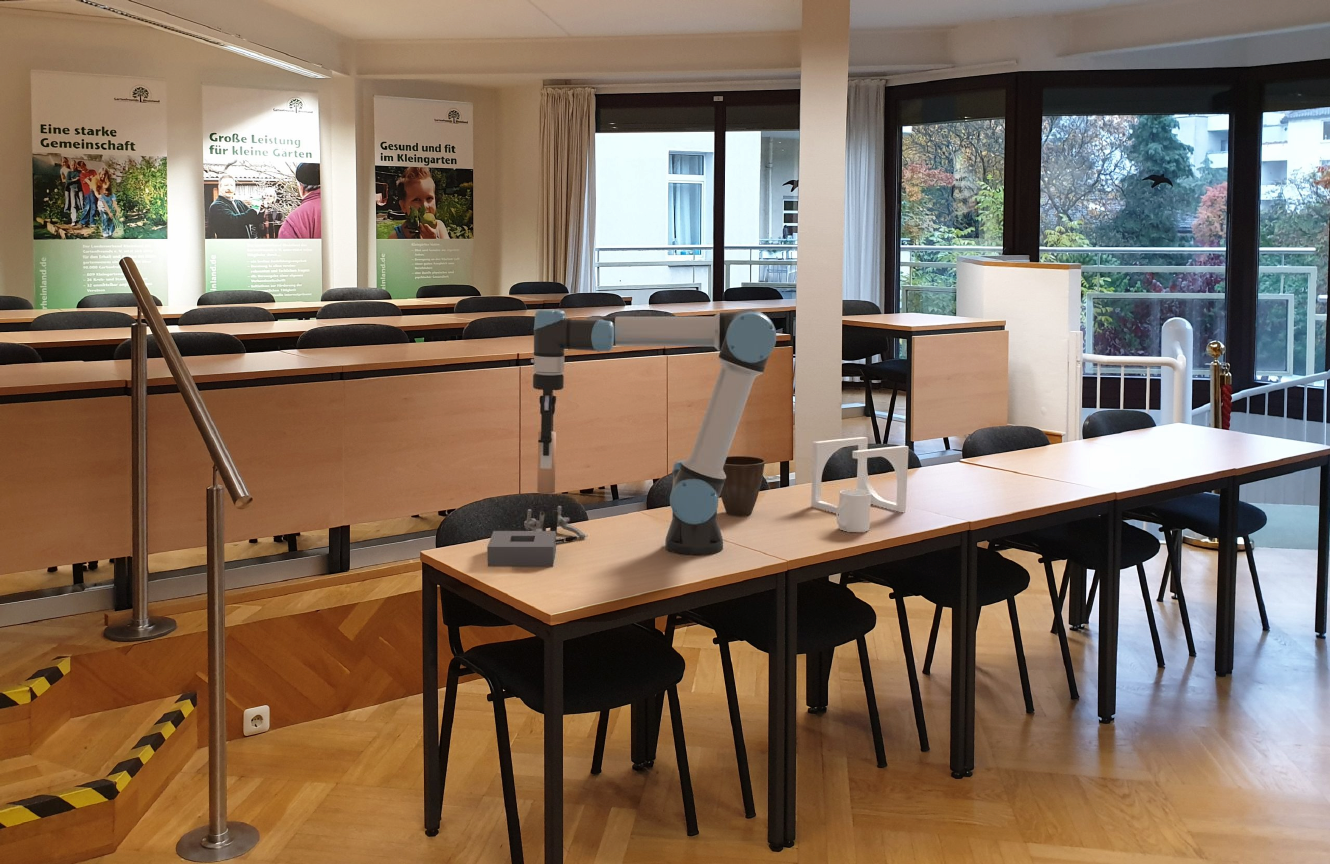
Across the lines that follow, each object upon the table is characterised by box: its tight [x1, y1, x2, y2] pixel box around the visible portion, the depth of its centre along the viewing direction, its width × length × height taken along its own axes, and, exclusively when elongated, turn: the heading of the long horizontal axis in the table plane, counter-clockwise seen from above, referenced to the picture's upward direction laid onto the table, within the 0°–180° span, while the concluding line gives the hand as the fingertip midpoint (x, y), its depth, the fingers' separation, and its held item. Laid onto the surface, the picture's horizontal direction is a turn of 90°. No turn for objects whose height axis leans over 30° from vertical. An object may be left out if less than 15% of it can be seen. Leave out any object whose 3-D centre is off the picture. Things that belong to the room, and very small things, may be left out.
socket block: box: [486, 530, 557, 568], centre depth 298 cm, size 16×16×5 cm
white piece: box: [810, 436, 909, 514], centre depth 357 cm, size 20×20×20 cm
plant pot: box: [720, 455, 766, 517], centre depth 349 cm, size 15×15×16 cm
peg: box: [536, 430, 557, 495], centre depth 295 cm, size 4×4×15 cm
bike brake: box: [523, 505, 589, 545], centre depth 318 cm, size 14×7×20 cm
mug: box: [835, 488, 871, 533], centre depth 330 cm, size 9×12×11 cm
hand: (546, 466), depth 295 cm, fingers closed on peg, 4 cm apart
